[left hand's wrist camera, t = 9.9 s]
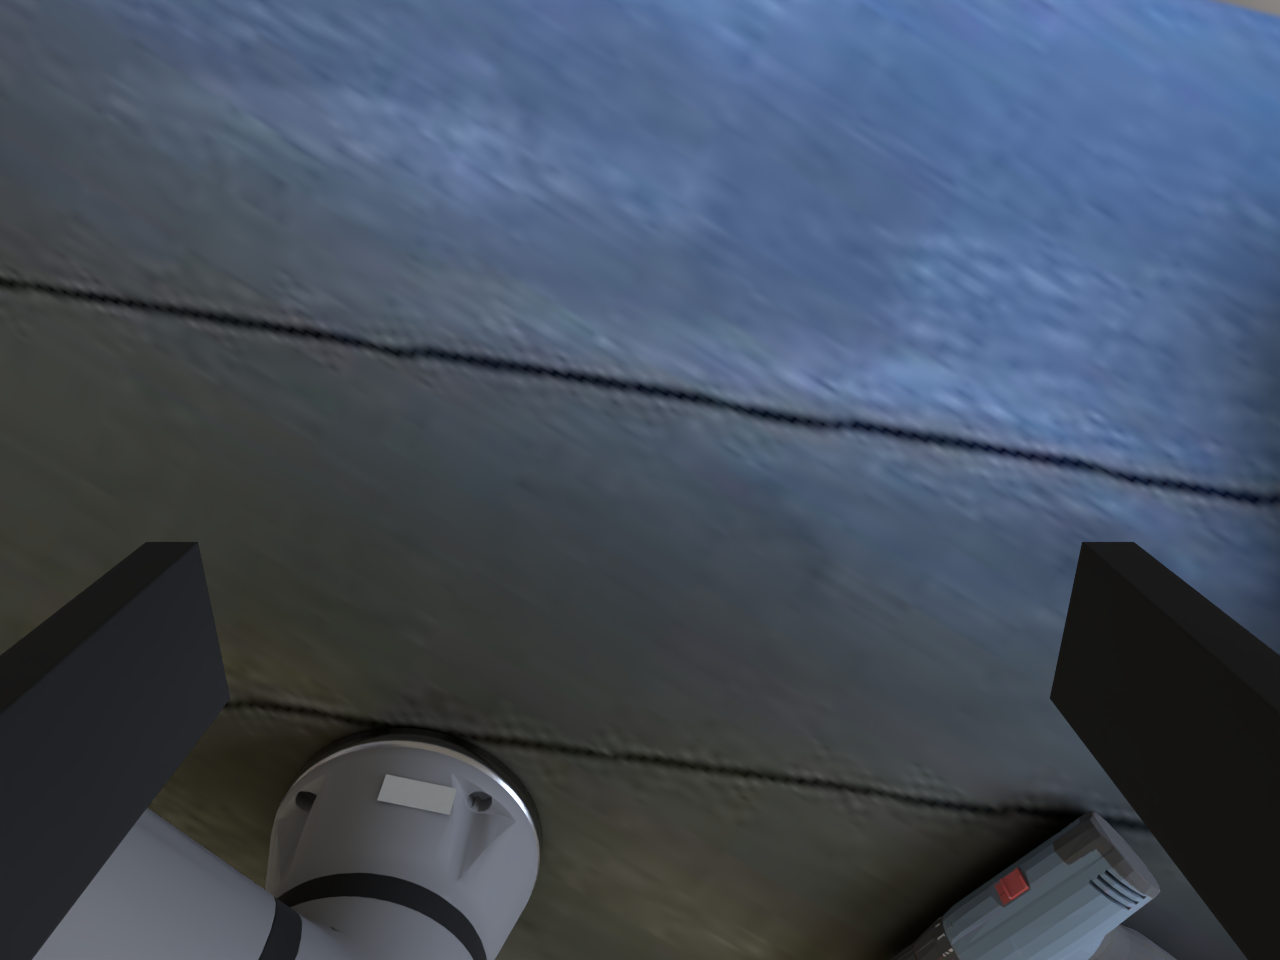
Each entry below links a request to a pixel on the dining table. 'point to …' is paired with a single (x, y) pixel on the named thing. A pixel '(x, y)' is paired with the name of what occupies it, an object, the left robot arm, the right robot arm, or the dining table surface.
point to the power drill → (1052, 905)
